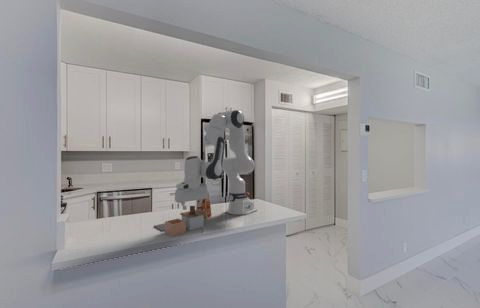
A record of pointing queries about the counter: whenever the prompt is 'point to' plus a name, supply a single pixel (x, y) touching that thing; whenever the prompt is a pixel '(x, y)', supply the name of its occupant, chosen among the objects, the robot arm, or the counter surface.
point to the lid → (192, 213)
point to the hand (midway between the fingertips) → (191, 208)
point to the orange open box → (175, 227)
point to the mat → (160, 227)
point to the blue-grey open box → (193, 222)
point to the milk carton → (205, 208)
